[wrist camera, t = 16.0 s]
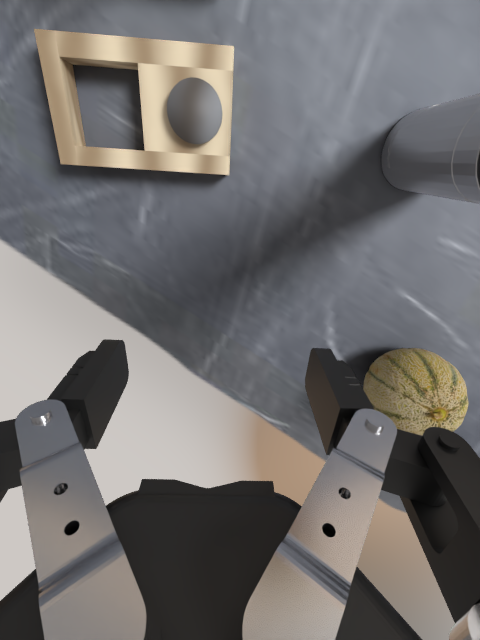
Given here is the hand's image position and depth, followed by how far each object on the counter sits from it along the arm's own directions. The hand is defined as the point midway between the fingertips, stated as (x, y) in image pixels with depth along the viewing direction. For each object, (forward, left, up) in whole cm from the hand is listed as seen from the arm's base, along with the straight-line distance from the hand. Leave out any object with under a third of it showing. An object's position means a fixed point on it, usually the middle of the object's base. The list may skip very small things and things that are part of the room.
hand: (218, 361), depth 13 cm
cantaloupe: (-31, +24, -33) cm, 51 cm away
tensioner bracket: (+10, -12, -33) cm, 37 cm away
